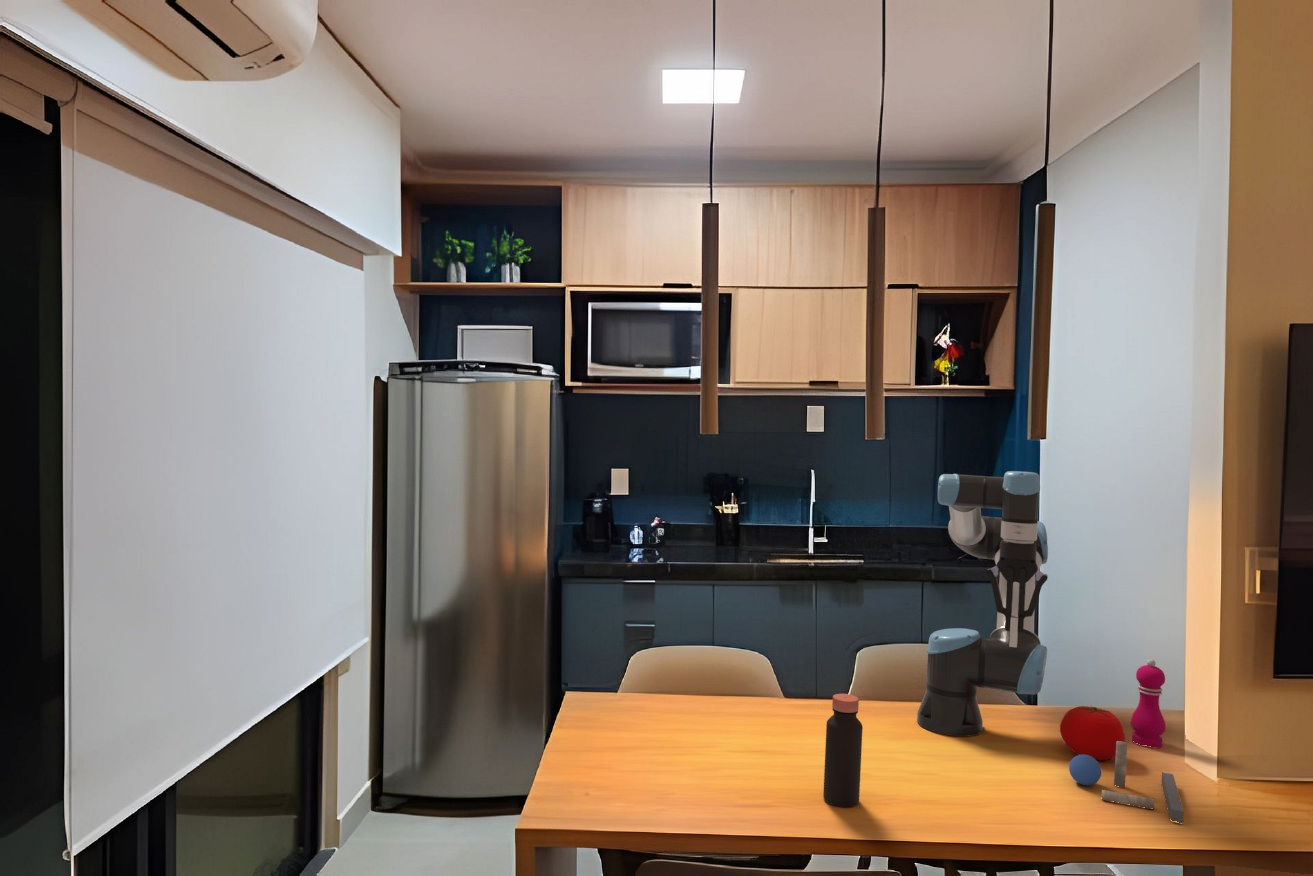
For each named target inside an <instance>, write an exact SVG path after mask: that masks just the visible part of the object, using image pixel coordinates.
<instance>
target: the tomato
mask: <svg viewBox="0 0 1313 876" xmlns="http://www.w3.org/2000/svg"><path fill="white" fill-rule="evenodd" d="M1059 732H1060V735H1061V738H1062V740H1063V742H1064V743H1065V745H1066V746H1067V747H1068V748H1069V749H1070V750H1071V751H1073V752H1074V753H1076V755H1082V754H1084V755H1089V756H1091V757H1093V758H1094V759H1095V760H1096V761H1101V760H1102V761H1104V760H1111V759H1114V758H1115V757H1116V742H1117V741H1122V742H1126V735H1125V731H1124V727H1123V724H1122V723H1121V721H1120V720H1119V718H1118V717H1117V716H1116V715H1115V714H1114V713H1113V712H1112V711H1109V710H1106V709H1103V708H1098V707H1094V706H1092V705H1090V706H1086V705H1085V706H1084V705H1081V706H1080V705H1079V706H1076V707H1073V708H1071V709H1069V710H1068V711H1067V712H1065V713H1064V715H1063V717H1062V718H1061V722H1060V724H1059Z"/></svg>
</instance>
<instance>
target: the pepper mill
mask: <svg viewBox="0 0 1313 876" xmlns="http://www.w3.org/2000/svg"><path fill="white" fill-rule="evenodd" d="M1156 665H1157V664H1156V661H1155V660H1154V659H1152V658H1150V659H1149V658H1148V659H1147V662H1146V664H1145V665H1141V666H1139V668H1138V669H1137V670H1136V672H1135V677H1136V680H1137V682H1138V683H1139V684H1137V691H1138V693H1139V700H1138V701H1139V702H1138V705H1137V707H1136V708H1135V709H1134V711H1133V713H1132V714H1131V718H1130V726H1131V728H1132V729H1133V731H1134V732H1132V735H1131V741H1132V742H1133V741H1134V742H1135V743H1138V744H1140V745H1147V746H1151V747H1160V748H1162V747H1163V738H1162V735H1163V734H1164V733H1165V732H1166V721H1165V718H1164V716H1163V714H1162V711H1161V709H1160V696H1161V695H1162V694H1163V688H1162V686H1163V685H1164V684H1165V682H1166V675H1165V673H1164V671H1163V669H1161V668H1159V667H1158V666H1156ZM1134 742H1133V743H1134ZM1135 743H1134V744H1135ZM1138 744H1137V745H1138ZM1140 745H1139V746H1140ZM1161 746H1162V747H1161Z"/></svg>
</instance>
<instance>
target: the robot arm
mask: <svg viewBox="0 0 1313 876" xmlns="http://www.w3.org/2000/svg"><path fill="white" fill-rule="evenodd" d="M1040 478H1041V477H1040V475H1039V473H1037V472H1032V471H1018V470H1017V471H1015V470H1011V471H1006V472H1005V473H1004V475H1003V476H1002V477H1001V476H988V475H987V476H985V475H972V474H971V475H970V474H959V473H953V474H951V473H950V474H949V473H943V474H940V476H939V477H938V481H937V482H938V484H937V502H938V504H940V505H942V506H947V507H948V510H949V516H950V520H949V522H948V524H947V525H948V527H947V528H948V529H947V530H948V535H949V537H950V539H951V541H952V542H953V543H954V545H955V546H956V547H958V548H959V549H960V550H962V551H963V552H965V553H967V554H968V555H971V556H972V557H975V558H979V559H983V560H984V559H985V560H986V559H987V560H992V561H993V560H994V563H995V565H994V566H993V567H990V568H987V570H986V575H987V577H988V578H989V581H990V583H991V588H992V592H993V597H994V602H995V603H994V604H995V607H996V608H995V609H996V611H997V614H996V615H997V616H996V629H994V630H993V631H992V632H991V633H990V635H989V638H983V637H981V634H980V633H979V631H978V630H975V629H971V628H964V627H963V628H962V627H961V628H960V627H959V628H958V627H957V628H956V627H954V628H944V629H939V630H936V631H933V632H932V633H931V634H930V636H929V638H928V645H927V650H926V653H927V664H926V666H927V668H926V686H925V687H926V688H925V693H924V695H923V697H922V700H921V702H920V705H919V707H918V709H917V716H916V717H917V718H916V723H917V724H918V725H919V726H920V727H922V728H924V729H926V730H928V731H931V732H933V733H937V734H942V735H947V736H954V737H972V736H976V735H979V734H982V732H983V727H984V726H983V725H984V724H983V723H984V722H983V717H982V714H981V710H980V706H979V703H978V699H977V689H978V688H981V689H989V690H995V691H1001V692H1009V693H1015V694H1018V695H1037V694H1040V692H1041V690H1042V687H1043V682H1044V678H1045V677H1044V676H1045V670H1046V664H1047V657H1048V656H1047V655H1048V648H1047V646H1045V645H1043V644H1041V640H1040V638H1039V636H1038V634H1036V633H1035V609H1036V606H1037V604H1038V600H1039V596H1040V594H1041V591H1042V590H1041V589H1042V587H1043V585H1045V583H1046V582H1047V581H1048V577H1049V576H1048V574H1047V573H1044V572H1042V571H1041V570H1040V568H1041V566H1042V565H1045V564H1047V562H1048V556H1049V555H1048V554H1049V547H1048V546H1049V545H1048V535H1047V529H1046V525H1044V523H1043V522H1042V521H1039V504H1040V491H1041V484H1040V482H1041V481H1040V480H1041V479H1040ZM981 509H995V510H1001V511H1002V513H1001V517H994V516H983V515H982V511H981ZM998 575H999V576H998ZM998 577H999V580H998Z"/></svg>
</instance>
